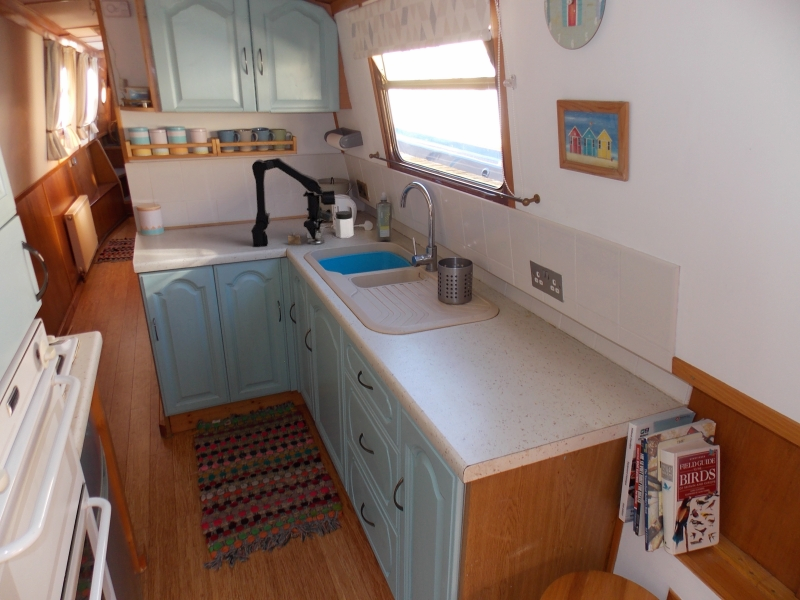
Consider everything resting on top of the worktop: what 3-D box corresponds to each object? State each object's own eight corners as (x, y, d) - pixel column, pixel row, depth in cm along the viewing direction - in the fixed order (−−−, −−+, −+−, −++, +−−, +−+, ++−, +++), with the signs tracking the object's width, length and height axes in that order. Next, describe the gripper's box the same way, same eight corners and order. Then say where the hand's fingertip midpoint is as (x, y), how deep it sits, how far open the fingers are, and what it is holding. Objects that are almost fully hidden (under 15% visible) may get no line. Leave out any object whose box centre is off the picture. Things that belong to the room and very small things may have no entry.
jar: (356, 236, 285) (355, 212, 280) (343, 239, 280) (342, 215, 275) (346, 233, 291) (345, 210, 287) (333, 235, 286) (331, 212, 282)
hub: (309, 245, 270) (308, 235, 268) (307, 241, 277) (306, 231, 275) (325, 244, 272) (325, 234, 270) (323, 239, 279) (322, 230, 277)
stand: (288, 245, 270) (287, 233, 268) (288, 243, 272) (287, 232, 270) (300, 244, 272) (299, 233, 270) (300, 243, 274) (299, 231, 272)
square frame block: (307, 237, 270) (307, 232, 270) (310, 234, 276) (310, 229, 276) (320, 237, 270) (320, 232, 269) (324, 234, 276) (323, 229, 275)
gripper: (325, 209, 258) (327, 242, 264) (334, 201, 275) (336, 232, 281) (302, 209, 259) (304, 242, 265) (312, 201, 277) (314, 232, 282)
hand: (315, 237), depth 273 cm, fingers closed on square frame block, 7 cm apart
